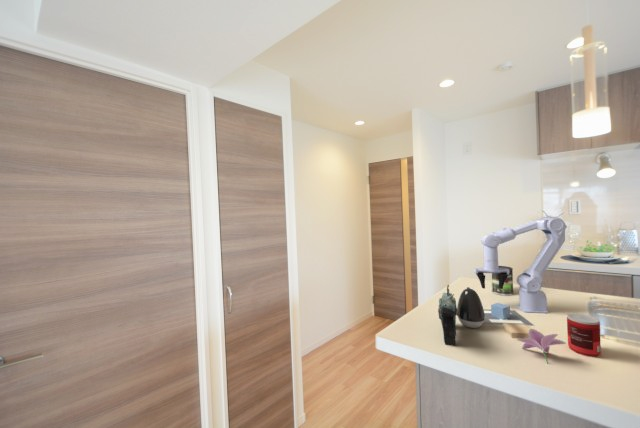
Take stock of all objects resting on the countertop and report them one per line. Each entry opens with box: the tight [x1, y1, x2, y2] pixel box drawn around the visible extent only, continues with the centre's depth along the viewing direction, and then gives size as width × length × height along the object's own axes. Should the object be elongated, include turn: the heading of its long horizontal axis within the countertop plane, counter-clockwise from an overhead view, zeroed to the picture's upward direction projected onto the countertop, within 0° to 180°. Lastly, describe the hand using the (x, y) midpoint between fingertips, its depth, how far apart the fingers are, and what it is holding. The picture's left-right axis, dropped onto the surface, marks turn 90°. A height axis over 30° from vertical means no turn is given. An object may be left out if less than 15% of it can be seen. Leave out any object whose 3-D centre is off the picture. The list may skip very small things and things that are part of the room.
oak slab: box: [502, 323, 531, 340], centre depth 99 cm, size 8×8×2 cm
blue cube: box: [490, 302, 511, 320], centre depth 115 cm, size 5×5×5 cm
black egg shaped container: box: [456, 287, 485, 329], centre depth 108 cm, size 10×10×15 cm
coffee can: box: [490, 265, 514, 296], centre depth 146 cm, size 10×10×14 cm
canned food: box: [566, 312, 602, 358], centre depth 86 cm, size 8×8×11 cm
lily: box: [517, 328, 567, 365], centre depth 84 cm, size 12×12×10 cm
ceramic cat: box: [437, 284, 457, 347], centre depth 101 cm, size 20×6×20 cm, turn 154°
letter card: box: [483, 308, 536, 327], centre depth 115 cm, size 18×16×1 cm
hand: (492, 288), depth 125 cm, fingers open, 7 cm apart
